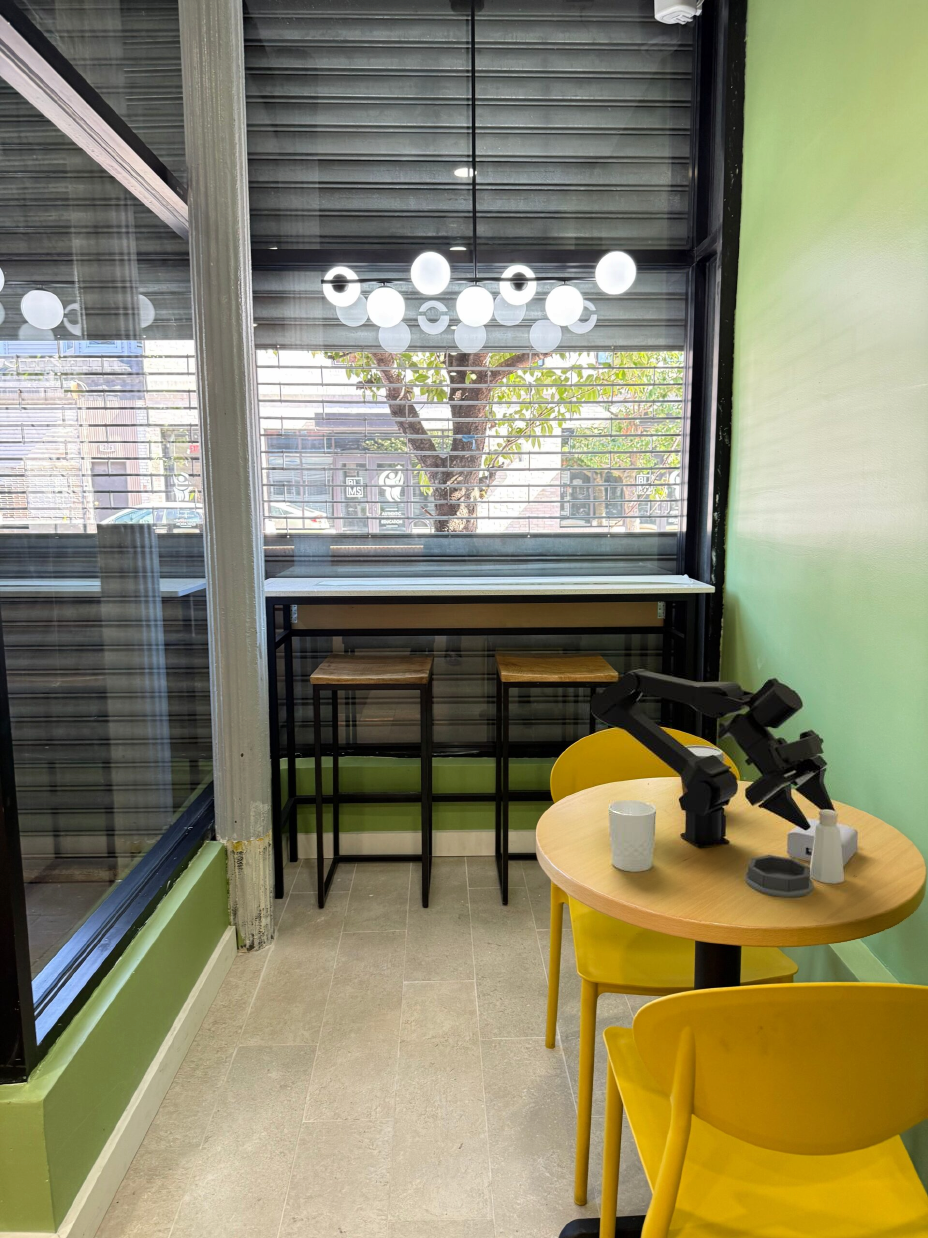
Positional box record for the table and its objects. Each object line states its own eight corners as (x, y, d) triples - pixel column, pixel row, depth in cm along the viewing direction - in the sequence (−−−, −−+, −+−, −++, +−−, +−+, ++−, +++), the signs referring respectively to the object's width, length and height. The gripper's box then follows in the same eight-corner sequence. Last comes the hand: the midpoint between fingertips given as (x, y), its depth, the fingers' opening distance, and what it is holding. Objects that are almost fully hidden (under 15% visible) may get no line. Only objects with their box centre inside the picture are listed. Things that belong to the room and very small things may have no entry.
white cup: (626, 877, 132) (626, 818, 131) (599, 860, 139) (599, 804, 138) (665, 868, 135) (665, 811, 134) (637, 852, 142) (637, 797, 141)
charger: (865, 843, 145) (843, 870, 134) (812, 832, 151) (786, 857, 140) (866, 818, 145) (844, 842, 133) (813, 808, 151) (787, 830, 139)
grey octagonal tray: (774, 901, 122) (774, 884, 122) (732, 876, 131) (733, 859, 131) (826, 892, 125) (827, 874, 125) (783, 867, 135) (783, 851, 134)
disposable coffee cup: (692, 797, 172) (692, 742, 171) (732, 807, 165) (733, 750, 164) (667, 807, 166) (667, 750, 165) (708, 818, 159) (709, 759, 158)
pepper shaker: (849, 876, 131) (851, 811, 130) (838, 887, 127) (840, 819, 126) (814, 867, 134) (816, 804, 133) (803, 878, 130) (805, 812, 129)
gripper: (763, 725, 127) (832, 809, 120) (817, 708, 139) (882, 783, 132) (718, 764, 133) (780, 846, 126) (773, 744, 146) (832, 818, 138)
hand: (821, 822), depth 130 cm, fingers open, 9 cm apart
